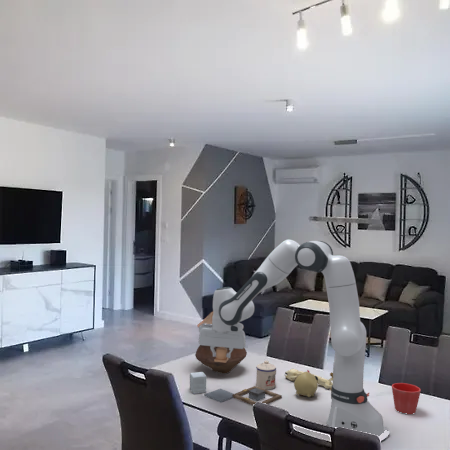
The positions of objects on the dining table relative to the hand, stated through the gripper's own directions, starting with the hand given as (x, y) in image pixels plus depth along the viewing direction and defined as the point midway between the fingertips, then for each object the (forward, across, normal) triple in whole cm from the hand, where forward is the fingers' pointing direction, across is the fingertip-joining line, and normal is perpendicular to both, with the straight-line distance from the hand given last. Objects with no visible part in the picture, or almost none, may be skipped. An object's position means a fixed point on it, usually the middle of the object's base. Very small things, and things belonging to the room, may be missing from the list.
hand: (221, 357), depth 201 cm
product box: (+17, -11, +3) cm, 21 cm away
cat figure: (+17, +36, +27) cm, 48 cm away
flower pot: (+17, +76, +7) cm, 78 cm away
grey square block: (+17, +15, +3) cm, 23 cm away
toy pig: (+17, +36, +12) cm, 41 cm away
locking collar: (+17, +15, +3) cm, 23 cm away
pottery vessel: (+17, -8, +32) cm, 37 cm away
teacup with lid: (+17, +18, +19) cm, 31 cm away
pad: (+17, 0, 0) cm, 17 cm away
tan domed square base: (+2, 0, 0) cm, 2 cm away
